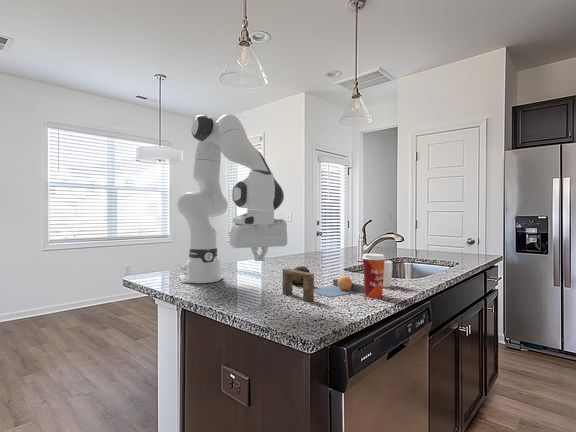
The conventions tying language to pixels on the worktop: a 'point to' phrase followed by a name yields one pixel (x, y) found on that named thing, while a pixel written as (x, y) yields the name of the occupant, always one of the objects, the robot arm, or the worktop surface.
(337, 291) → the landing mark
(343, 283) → the ball
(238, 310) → the worktop surface
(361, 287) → the grey long bar
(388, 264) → the white cup
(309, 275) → the bridge
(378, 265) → the coffee cup
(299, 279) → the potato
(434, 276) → the worktop surface
